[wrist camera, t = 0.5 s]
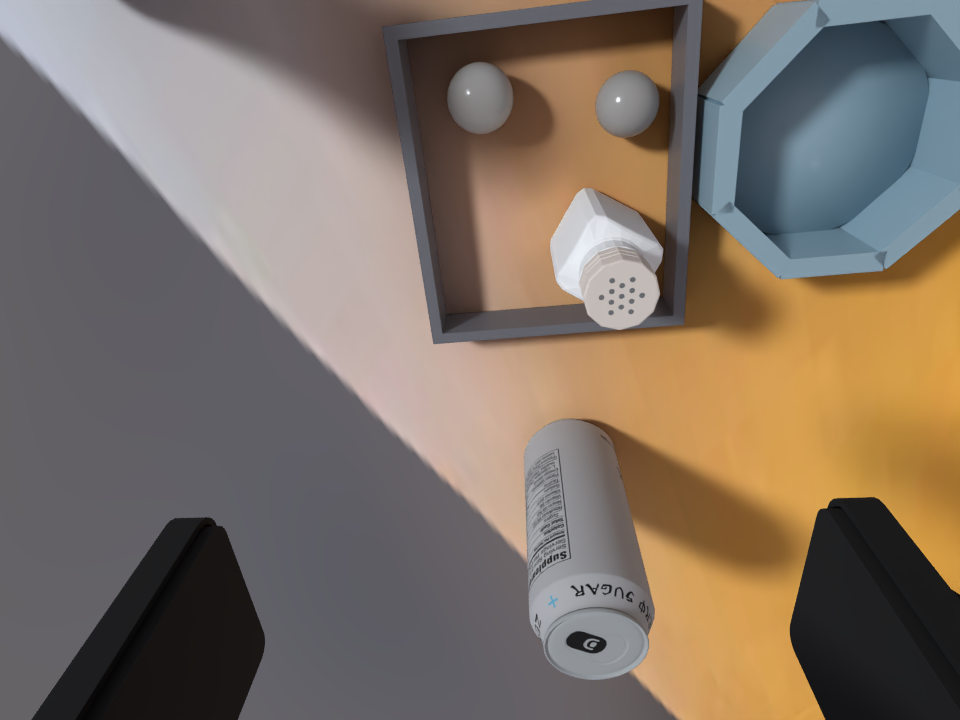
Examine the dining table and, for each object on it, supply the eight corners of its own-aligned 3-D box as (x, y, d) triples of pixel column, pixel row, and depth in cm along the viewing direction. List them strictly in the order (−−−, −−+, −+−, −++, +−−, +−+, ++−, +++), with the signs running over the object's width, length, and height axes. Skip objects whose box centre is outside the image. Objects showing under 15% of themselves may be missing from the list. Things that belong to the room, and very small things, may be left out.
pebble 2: (591, 72, 30) (599, 76, 27) (653, 64, 30) (667, 68, 27) (592, 135, 31) (600, 145, 29) (651, 129, 31) (664, 138, 29)
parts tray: (391, 26, 29) (382, 26, 27) (687, -11, 28) (703, -14, 26) (438, 324, 37) (433, 344, 35) (672, 305, 36) (684, 324, 33)
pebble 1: (446, 64, 30) (439, 68, 27) (510, 56, 30) (510, 59, 27) (454, 132, 32) (449, 142, 29) (515, 125, 31) (516, 135, 29)
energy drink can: (588, 494, 43) (622, 700, 30) (509, 466, 42) (510, 666, 29) (629, 430, 40) (688, 626, 27) (546, 399, 39) (565, 586, 26)
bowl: (697, 12, 29) (727, 11, 25) (969, -20, 28) (1043, -28, 24) (684, 256, 34) (706, 285, 30) (908, 236, 33) (961, 264, 29)
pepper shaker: (606, 275, 35) (636, 352, 27) (545, 245, 34) (556, 315, 26) (644, 213, 33) (689, 276, 25) (581, 180, 33) (605, 233, 24)
